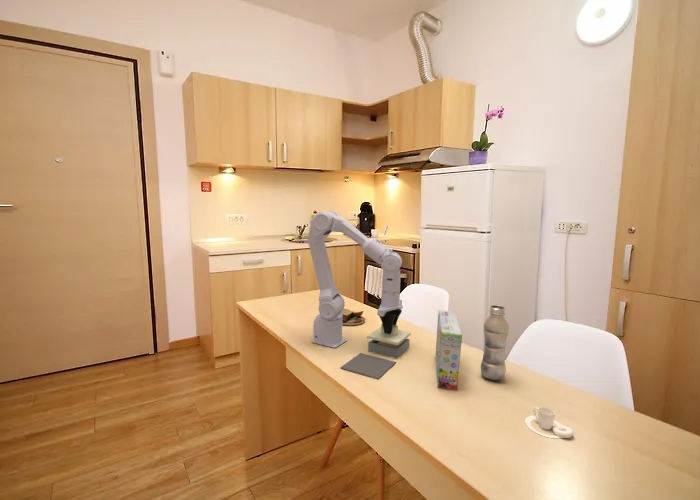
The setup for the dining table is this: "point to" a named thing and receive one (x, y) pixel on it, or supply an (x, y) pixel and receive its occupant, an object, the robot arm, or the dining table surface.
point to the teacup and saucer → (548, 423)
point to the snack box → (448, 350)
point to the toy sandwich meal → (352, 317)
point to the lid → (389, 335)
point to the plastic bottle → (495, 344)
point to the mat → (368, 365)
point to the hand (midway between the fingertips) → (389, 332)
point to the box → (388, 348)
